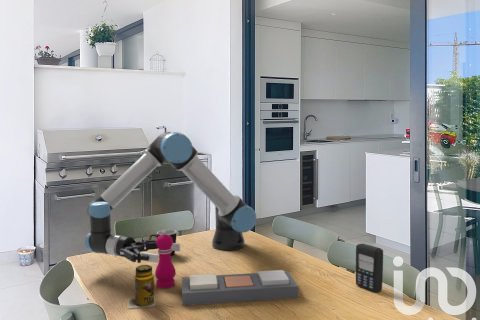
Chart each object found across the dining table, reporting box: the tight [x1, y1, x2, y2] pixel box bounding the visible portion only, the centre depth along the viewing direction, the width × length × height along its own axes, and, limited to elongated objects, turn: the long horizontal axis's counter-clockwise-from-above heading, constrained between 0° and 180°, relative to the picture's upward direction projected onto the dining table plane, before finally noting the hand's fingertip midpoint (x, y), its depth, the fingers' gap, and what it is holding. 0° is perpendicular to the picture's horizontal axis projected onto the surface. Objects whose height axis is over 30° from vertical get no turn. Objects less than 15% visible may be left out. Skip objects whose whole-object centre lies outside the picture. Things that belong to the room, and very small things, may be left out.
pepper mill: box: [154, 229, 176, 289], centre depth 154 cm, size 7×7×20 cm
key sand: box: [189, 273, 218, 290], centre depth 145 cm, size 9×9×3 cm
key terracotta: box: [224, 275, 254, 288], centre depth 147 cm, size 9×9×3 cm
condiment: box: [128, 264, 157, 309], centre depth 140 cm, size 7×8×12 cm
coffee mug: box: [148, 229, 178, 257], centre depth 190 cm, size 12×9×10 cm
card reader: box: [355, 243, 384, 293], centre depth 149 cm, size 9×4×15 cm, turn 37°
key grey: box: [257, 269, 289, 286], centre depth 148 cm, size 9×9×3 cm
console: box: [181, 270, 299, 306], centre depth 147 cm, size 14×38×4 cm, turn 97°
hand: (169, 252), depth 153 cm, fingers open, 13 cm apart
